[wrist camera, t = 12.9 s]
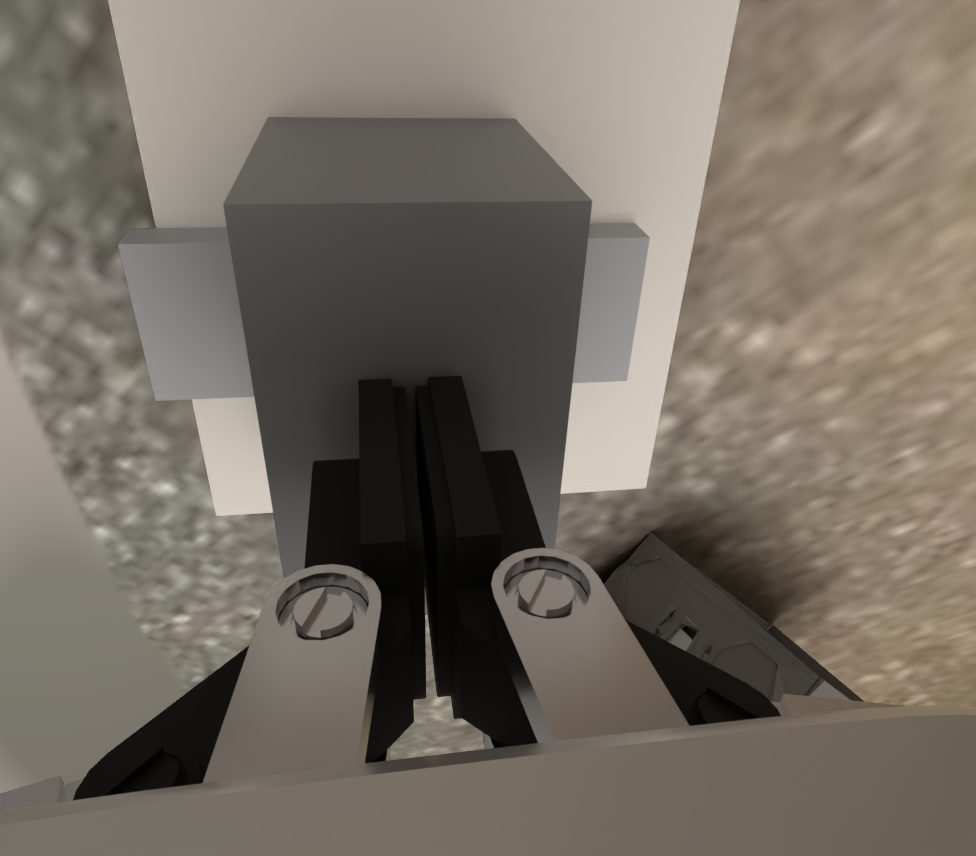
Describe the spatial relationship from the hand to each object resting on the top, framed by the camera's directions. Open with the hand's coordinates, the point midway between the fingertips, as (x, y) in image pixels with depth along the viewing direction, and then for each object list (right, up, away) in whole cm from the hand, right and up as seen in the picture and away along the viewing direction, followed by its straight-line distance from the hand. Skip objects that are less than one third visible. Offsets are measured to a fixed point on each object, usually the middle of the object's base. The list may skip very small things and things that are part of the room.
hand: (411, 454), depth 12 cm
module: (-1, +3, +5) cm, 6 cm away
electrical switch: (+8, -5, +14) cm, 17 cm away
